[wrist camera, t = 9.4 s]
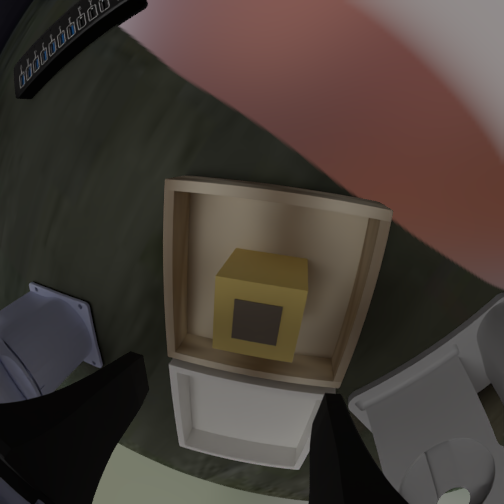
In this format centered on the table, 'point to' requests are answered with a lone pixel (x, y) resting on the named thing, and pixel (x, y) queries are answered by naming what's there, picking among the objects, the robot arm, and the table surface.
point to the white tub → (243, 415)
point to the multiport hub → (69, 40)
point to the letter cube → (260, 304)
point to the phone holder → (441, 414)
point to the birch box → (277, 242)
